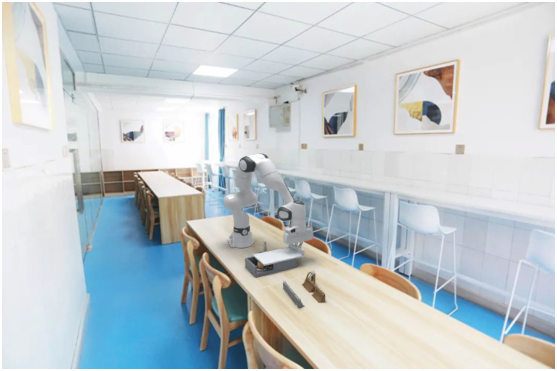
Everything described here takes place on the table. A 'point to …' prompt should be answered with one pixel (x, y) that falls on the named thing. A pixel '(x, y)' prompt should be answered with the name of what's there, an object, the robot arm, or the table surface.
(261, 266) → the brown egg
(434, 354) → the table surface
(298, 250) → the lid
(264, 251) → the electronic device
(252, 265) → the housing
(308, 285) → the skate ramp
